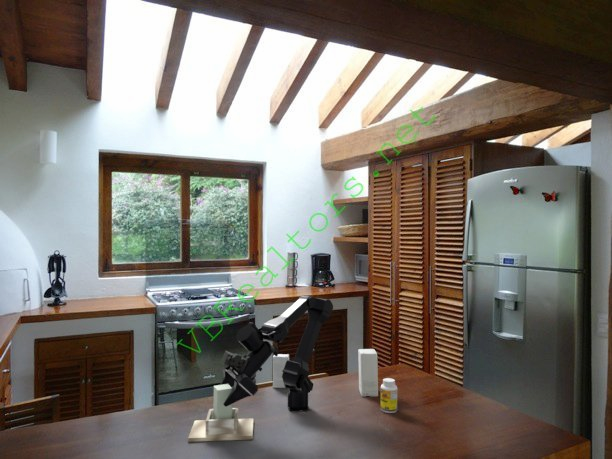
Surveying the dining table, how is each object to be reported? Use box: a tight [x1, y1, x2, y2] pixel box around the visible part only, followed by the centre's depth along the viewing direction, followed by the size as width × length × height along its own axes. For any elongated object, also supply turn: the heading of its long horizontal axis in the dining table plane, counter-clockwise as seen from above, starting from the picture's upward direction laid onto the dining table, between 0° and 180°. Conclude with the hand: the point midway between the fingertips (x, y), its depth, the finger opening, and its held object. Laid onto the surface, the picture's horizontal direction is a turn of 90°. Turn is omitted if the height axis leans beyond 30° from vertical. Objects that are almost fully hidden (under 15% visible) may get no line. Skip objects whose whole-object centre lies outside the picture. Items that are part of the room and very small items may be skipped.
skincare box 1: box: [272, 353, 290, 389], centre depth 167 cm, size 6×4×12 cm
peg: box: [212, 384, 233, 419], centre depth 128 cm, size 4×4×12 cm
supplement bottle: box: [380, 377, 398, 414], centre depth 144 cm, size 6×6×10 cm
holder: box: [187, 407, 254, 443], centre depth 128 cm, size 18×12×5 cm, turn 96°
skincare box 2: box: [357, 348, 379, 398], centre depth 161 cm, size 8×7×16 cm
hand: (220, 400), depth 127 cm, fingers open, 9 cm apart
